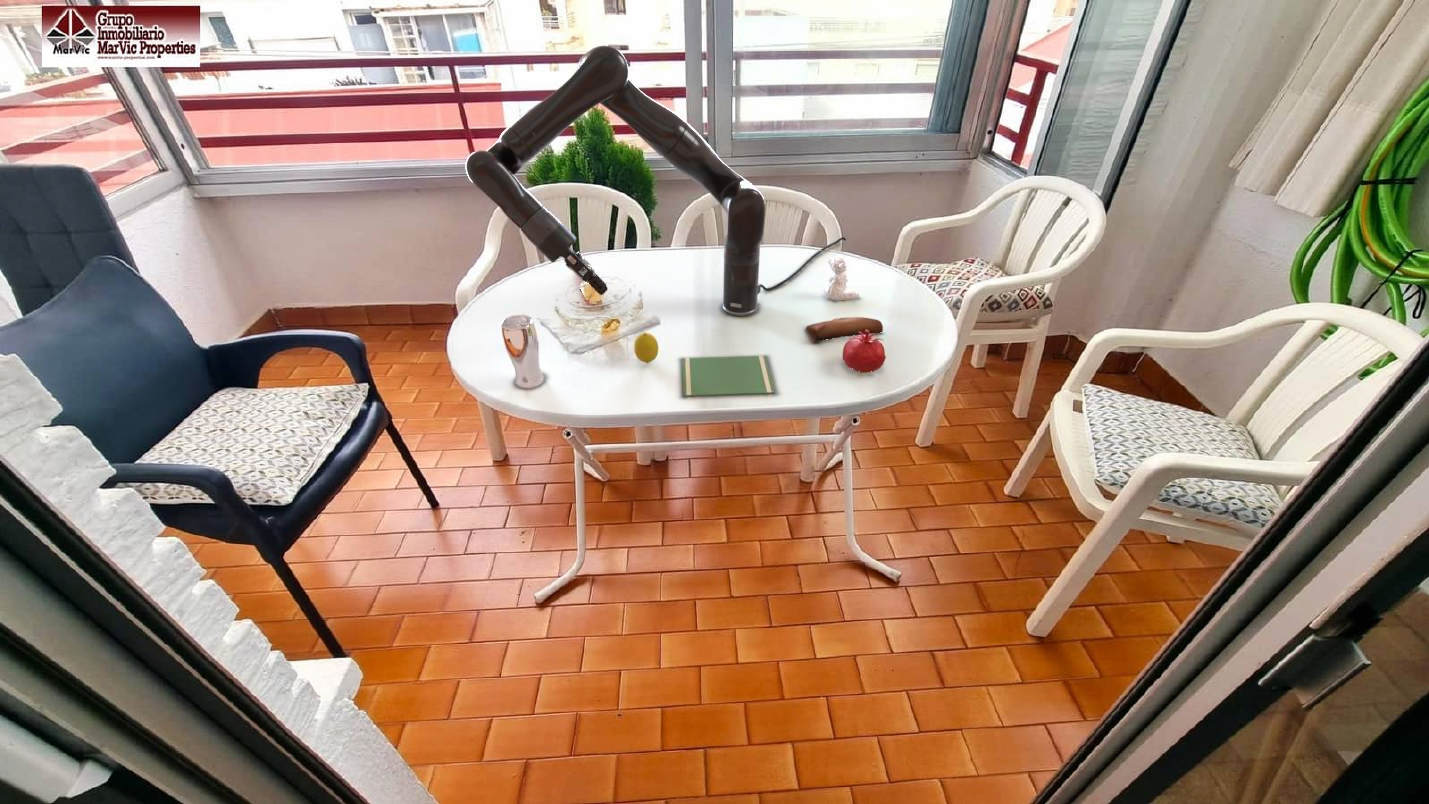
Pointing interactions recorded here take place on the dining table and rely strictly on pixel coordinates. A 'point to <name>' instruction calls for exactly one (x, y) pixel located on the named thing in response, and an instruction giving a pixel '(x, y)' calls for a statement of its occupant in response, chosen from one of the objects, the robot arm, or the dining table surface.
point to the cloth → (726, 376)
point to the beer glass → (523, 349)
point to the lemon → (646, 347)
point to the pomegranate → (864, 353)
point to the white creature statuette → (838, 281)
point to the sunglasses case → (843, 328)
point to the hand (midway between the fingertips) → (604, 290)
